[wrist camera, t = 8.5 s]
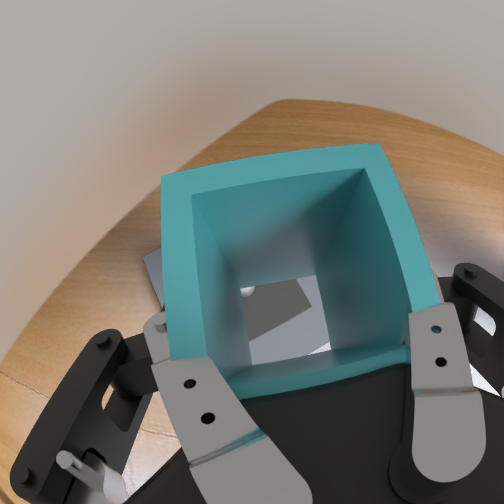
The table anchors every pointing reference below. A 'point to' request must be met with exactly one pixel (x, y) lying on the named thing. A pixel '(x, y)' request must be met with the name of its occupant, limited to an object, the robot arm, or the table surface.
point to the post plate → (271, 315)
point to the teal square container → (292, 260)
